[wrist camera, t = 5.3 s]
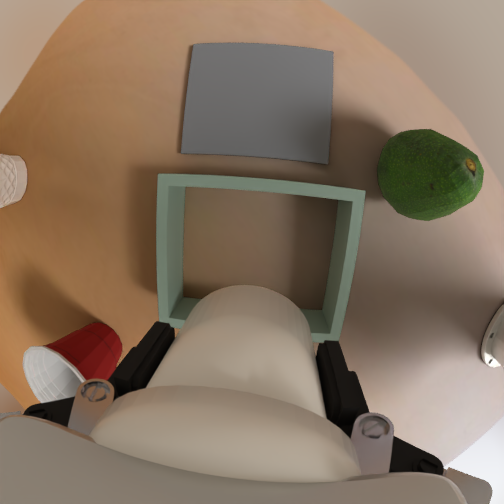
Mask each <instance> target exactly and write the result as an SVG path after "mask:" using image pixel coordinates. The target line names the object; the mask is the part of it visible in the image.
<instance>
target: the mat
mask: <svg viewBox="0 0 504 504" xmlns="http://www.w3.org/2000/svg"><path fill="white" fill-rule="evenodd" d="M332 93H333V52H332V51H326V50H320V49H313V48H306V47H297V46H287V45H276V44H259V43H203V44H194V45H193V51H192V58H191V65H190V72H189V79H188V87H187V95H186V104H185V113H184V123H183V134H182V146H181V154H211V155H233V156H249V157H262V158H274V159H285V160H295V161H304V162H312V163H320V164H328V160H329V147H330V132H331V115H332Z"/></svg>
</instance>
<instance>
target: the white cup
mask: <svg viewBox="0 0 504 504" xmlns="http://www.w3.org/2000/svg"><path fill="white" fill-rule="evenodd" d="M26 186H27V168H26V165H25V162H24V160H23V159H22V158H21V157H20V156H15V155H5V154H0V208H2V207H5V206H7V205H10V204H14V203H16V202H18V201H19V200H21V198H22V196H23V195H24V193H25V190H26Z"/></svg>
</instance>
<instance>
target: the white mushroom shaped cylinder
mask: <svg viewBox="0 0 504 504" xmlns="http://www.w3.org/2000/svg"><path fill="white" fill-rule="evenodd" d="M88 436H90V437H92V438H93V439H94V441H95V442H96V444H99V445H102V446H104V447H107V448H110V449H112V450H115V451H118V452H121V453H124V454H127V455H130V456H133V457H137V458H140V459H143V460H147V461H150V462H154V463H158V464H162V465H165V466H169V467H174V468H178V469H182V470H187V471H192V472H197V473H203V474H208V475H214V476H221V477H228V478H236V479H245V480H255V481H268V482H289V483H318V482H339V481H341V480H343V479H345V478H348V477H350V476H359V475H361V471H360V466H359V462H358V457H357V453H356V450H355V446H354V445H353V443H352V441H351V440H350V438H349V437H348V436H347V435H346V434H345V433H344V432H343V431H342V430H341V429H340V428H339V427H337V426H336V425H335V424H333V423H332V422H330V421H329V420H327V417H326V411H325V406H324V400H323V394H322V388H321V383H320V378H319V372H318V367H317V362H316V356H315V351H314V346H313V341H312V336H311V331H310V327H309V324H308V322H307V320H306V318H305V316H304V314H303V313H302V312H301V310H300V309H299V308H298V307H297V306H296V305H295V304H294V303H293V302H292V301H290V300H289V299H288V298H287V297H285V296H283V295H281V294H280V293H278V292H275V291H273V290H271V289H268V288H264V287H260V286H254V285H234V286H229V287H225V288H222V289H219V290H216V291H214V292H212V293H210V294H208V295H207V296H206V297H204V298H203V299H202V300H201V301H199V302H198V303H197V304H196V306H195V307H194V308H193V309H192V311H191V313H190V314H189V316H188V318H187V319H186V321H185V323H184V324H183V326H182V328H181V329H180V331H179V333H178V334H177V336H176V338H175V339H174V341H173V343H172V344H171V346H170V348H169V349H168V351H167V353H166V354H165V356H164V358H163V360H162V361H161V363H160V365H159V366H158V368H157V370H156V371H155V373H154V375H153V377H152V378H151V380H150V382H149V383H148V385H147V387H146V388H144V389H140V390H137V391H133V392H130V393H127V394H125V395H123V396H121V397H119V398H117V399H116V400H115V401H113V402H112V403H111V404H110V405H109V406H108V407H107V409H106V410H105V411H104V413H103V414H102V416H101V417H100V419H99V420H98V422H97V423H96V425H95V426H94V428H93V429H92V431H91V432H90V434H89V435H88Z"/></svg>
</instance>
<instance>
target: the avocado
mask: <svg viewBox="0 0 504 504" xmlns="http://www.w3.org/2000/svg"><path fill="white" fill-rule="evenodd" d="M483 173H484V170H483V168H482V165H481V163H480V161H479V159H478V156H477V155H476V154H474V153H473V152H472V151H470V150H469V149H467V148H466V147H464V146H463V145H461V144H460V143H458V142H456V141H454V140H453V139H450V138H448V137H446V136H444V135H442V134H440V133H438V132H436V131H433V130H431V129H419V130H408V131H404V132H400V133H398V134H397V135H395V136H394V137H392V138H390V139H389V141H388V142H387V144H386V145H385V146H384V148H383V150H382V153H381V156H380V159H379V163H378V167H377V175H378V184H379V187H380V189H381V192H382V194H383V197H384V198H385V199H386V200H387V201H388V202H389V203H390V205H391V206H392V207H393V208H394V209H395V210H396V211H397V212H398V213H400V214H402V215H404V216H406V217H408V218H412V219H417V220H424V221H430V220H433V219H437V218H440V217H443V216H446V215H449V214H451V213H453V212H455V211H456V210H458V209H460V208H461V207H463V206H465V205H467V204H468V203H470V202H472V201H473V200H474V199H475V197H476V196H477V194H478V193H479V191H480V189H481V187H482V182H483Z"/></svg>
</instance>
